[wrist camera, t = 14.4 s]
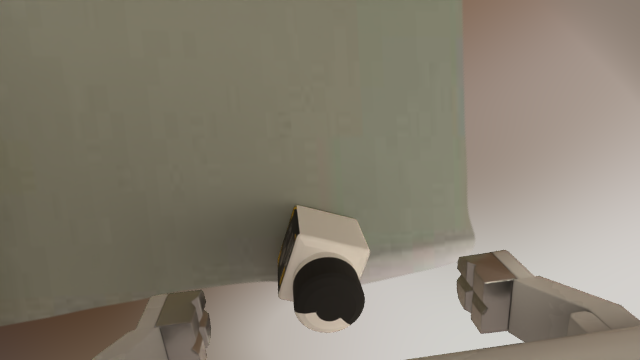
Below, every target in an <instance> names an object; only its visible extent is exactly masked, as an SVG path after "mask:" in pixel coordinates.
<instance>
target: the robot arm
mask: <svg viewBox="0 0 640 360" xmlns="http://www.w3.org/2000/svg"><path fill="white" fill-rule="evenodd" d="M457 269H458V270H459V271H460V273H461V276H460V277H459V278H458V280H457V293H458V298H459V300H460V303H461V305H462V306H463V308H464V309H465V310H467V311H468V312H470V313H471V320H472V321H473V323H474V324H475V326H476V327H477V329H478V330H479V332H480V333H481V334H483V333H492V332H501V331H508V332H509V333H511V334H513V335H514V336H516V337H517V338H519V339H520V340H522V341H524V343H517V344H511V345H504V346H497V347H490V348H483V349H477V350H469V351H462V352H456V353H449V354H442V355H435V356H428V357H422V358H414V359H407V360H640V320H638V319H637V318H635V316H633V315H632V314H631V313H630V312H628V311H627V310H626V309H625V308H623V307H622V306H621V305H619V304H616V303H613V302H610V301H608V300H605V299H602V298H599V297H596V296H594V295H590V294H588V293H585V292H583V291H580V290H577V289H574V288H571V287H569V286H566V285H563V284H560V283H557V282H554V281H551V280H549V279H546V278H543V277H541V276H536V277H535V276H534V275H532V274H531V273H530V272H529V271H528V270H527V269H526V268H525V267H524V266H523V265H522V264H521V263H520V262H519V261H518V260H517V259H516V258H514V256H512V255H511V254H510V253H509V252H508V251H506V250H501V251H495V252H490V253H483V254H477V255H470V256H463V257H459V259H458V267H457ZM205 303H206V300H205V296H204V293H203V291H202V290H197V291H187V292H178V293H170V294H161V295H154V296H152V297H150V299H149V301H148V303H147V306H146V308H145V310H144V312H143V314H142V316H141V318H140V320H139V323H138V325H137V327H136V329H135V330H134V331H129V332H128V333H126V334H125V335H124V336H122V337H121V338H120V339H118V340H117V341H116V342H114V343H113V344H112V345H110V346H109V347H108V348H106V349H105V350H103V351H102V352H101V353H99V354H98V355H97V356H95V357H94V358H93V359H91V360H206V358H207V354H206V350H205V348H206V347H207V346H208V345H209V343H210V338H211V325H210V318H209V313H207V312H206V311H205V310H204V308H205Z"/></svg>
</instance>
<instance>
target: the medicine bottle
mask: <svg viewBox="0 0 640 360" xmlns="http://www.w3.org/2000/svg"><path fill="white" fill-rule="evenodd" d="M369 255H370V250H369V248H368V245H367V243H366V240H365V238H364V236H363V233H362V231H361V229H360V226H359V224H358V222H357V220H356V219H353V218H349V217H345V216H341V215H337V214H333V213H329V212H325V211H320V210H316V209H312V208H308V207H304V206H300V205H296V206H295V207H294V209H293V212H292V216H291V219H290V222H289V225H288V228H287V232H286V235H285V238H284V241H283V244H282V248H281V251H280V254H279V257H278V297H279V298H280V299H283V300H289V301H293V302H294V310H295V314H296V316H297V318H298V319H299V321H300V322H301V323H302V324H303V325H305V326H306V327H307V328H309V329H312V330H314V331H318V332H325V333H330V332H336V331H340V330H342V329H345V328H346V327H348V326H350V325H351V324H352V323H353V322H355V321H356V320H357V318H358V317H359V316H360V314H361V312H362V310H363V308H364V303H365V297H364V293H363V290H362V287H361V284H360V281H359V280H360V278H361V275H362V273H363V270H364V268H365V265H366V263H367V260H368V257H369Z"/></svg>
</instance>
